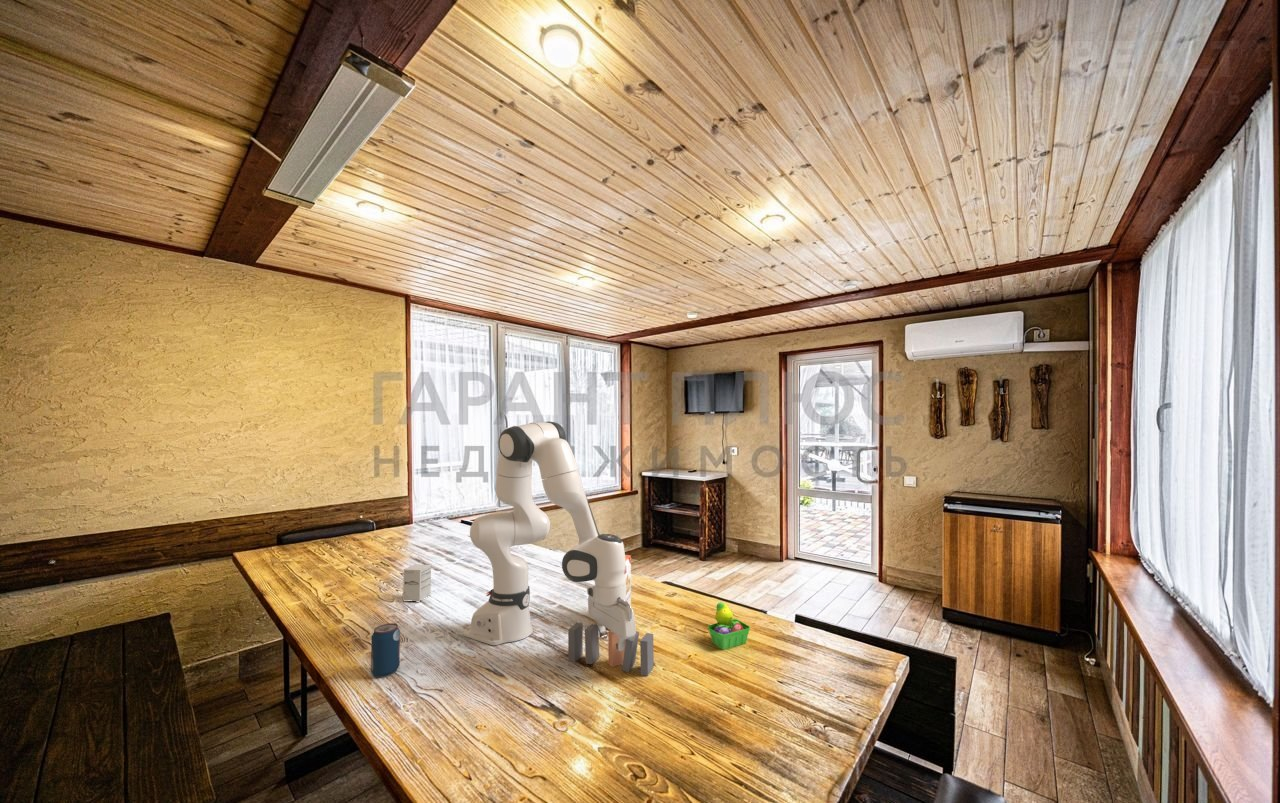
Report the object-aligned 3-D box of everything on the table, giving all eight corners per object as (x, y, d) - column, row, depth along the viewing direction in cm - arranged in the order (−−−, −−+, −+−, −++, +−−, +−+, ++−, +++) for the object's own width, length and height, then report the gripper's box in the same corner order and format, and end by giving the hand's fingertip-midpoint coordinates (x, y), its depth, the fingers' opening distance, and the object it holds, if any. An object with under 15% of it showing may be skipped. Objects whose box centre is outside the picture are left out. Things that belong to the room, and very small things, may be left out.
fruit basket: (722, 653, 137) (721, 613, 137) (704, 641, 144) (703, 603, 145) (752, 644, 142) (751, 606, 142) (733, 633, 150) (732, 597, 150)
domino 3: (608, 664, 131) (608, 631, 131) (623, 659, 134) (622, 626, 134) (612, 667, 129) (612, 634, 129) (627, 661, 132) (626, 629, 132)
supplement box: (402, 602, 180) (402, 569, 181) (414, 595, 187) (415, 563, 188) (419, 603, 179) (420, 569, 180) (431, 596, 186) (431, 564, 187)
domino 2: (585, 663, 130) (584, 629, 132) (593, 657, 135) (592, 624, 137) (592, 664, 130) (591, 629, 131) (599, 657, 134) (598, 624, 136)
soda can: (405, 668, 130) (405, 624, 130) (384, 680, 123) (385, 634, 124) (386, 664, 132) (387, 621, 133) (364, 676, 126) (365, 631, 126)
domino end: (640, 675, 125) (640, 640, 125) (646, 666, 129) (646, 632, 130) (647, 676, 124) (647, 641, 125) (653, 667, 129) (653, 633, 129)
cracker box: (623, 630, 152) (622, 565, 154) (605, 629, 154) (604, 564, 155) (632, 613, 166) (631, 554, 167) (615, 612, 167) (615, 553, 169)
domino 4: (621, 670, 127) (626, 638, 126) (628, 660, 131) (632, 629, 131) (628, 672, 126) (632, 641, 125) (635, 662, 131) (639, 632, 130)
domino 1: (568, 661, 132) (568, 629, 133) (576, 653, 137) (576, 622, 138) (574, 662, 132) (574, 630, 132) (582, 654, 136) (582, 623, 137)
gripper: (640, 601, 125) (642, 654, 124) (602, 582, 142) (603, 629, 141) (621, 606, 121) (622, 661, 120) (583, 586, 138) (584, 634, 137)
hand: (611, 643), depth 131 cm, fingers open, 8 cm apart
